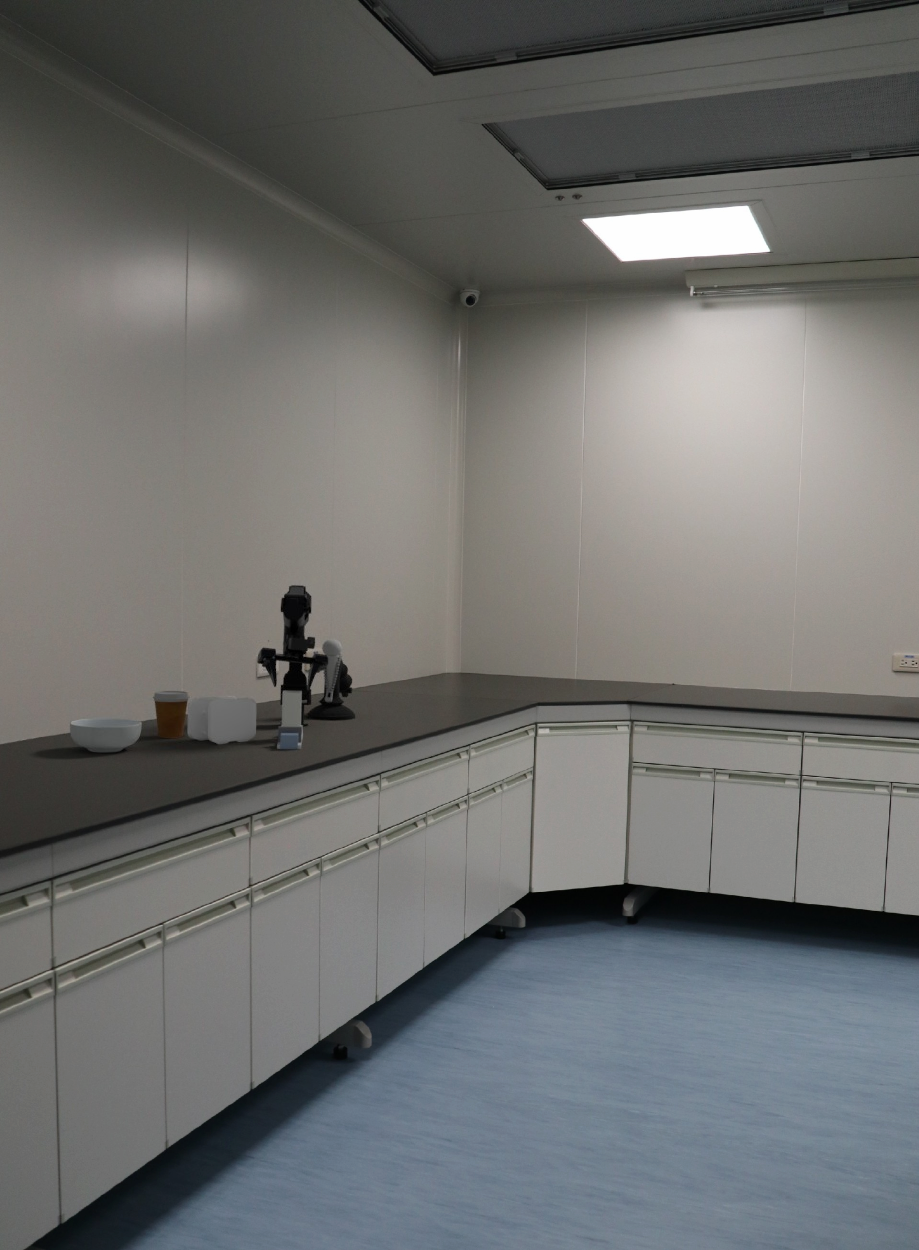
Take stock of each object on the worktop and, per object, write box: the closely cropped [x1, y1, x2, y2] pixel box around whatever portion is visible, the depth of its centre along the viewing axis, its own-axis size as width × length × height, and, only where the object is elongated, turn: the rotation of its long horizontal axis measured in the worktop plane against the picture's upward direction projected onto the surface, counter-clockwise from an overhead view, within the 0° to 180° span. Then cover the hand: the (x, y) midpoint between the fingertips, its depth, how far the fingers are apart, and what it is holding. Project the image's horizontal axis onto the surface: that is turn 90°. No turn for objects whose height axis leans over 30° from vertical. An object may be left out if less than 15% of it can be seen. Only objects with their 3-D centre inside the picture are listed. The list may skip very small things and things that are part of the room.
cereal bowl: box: [69, 717, 143, 753], centre depth 259 cm, size 17×17×7 cm
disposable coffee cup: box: [152, 690, 190, 739], centre depth 283 cm, size 10×10×12 cm
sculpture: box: [306, 638, 356, 721], centre depth 337 cm, size 15×24×25 cm, turn 170°
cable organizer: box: [186, 695, 257, 745], centre depth 278 cm, size 15×11×12 cm
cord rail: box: [276, 724, 304, 750], centre depth 279 cm, size 24×6×5 cm, turn 7°
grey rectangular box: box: [281, 691, 303, 726], centre depth 284 cm, size 5×5×12 cm
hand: (292, 688), depth 284 cm, fingers open, 9 cm apart
